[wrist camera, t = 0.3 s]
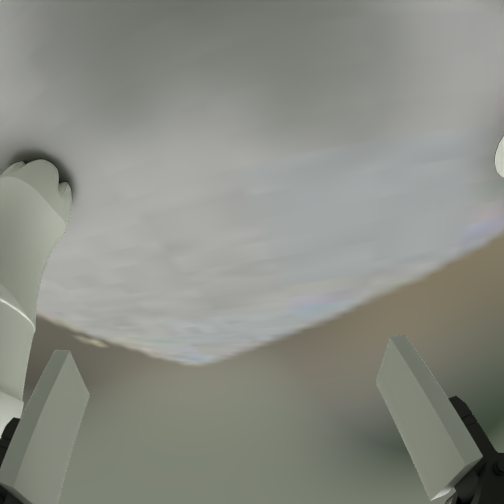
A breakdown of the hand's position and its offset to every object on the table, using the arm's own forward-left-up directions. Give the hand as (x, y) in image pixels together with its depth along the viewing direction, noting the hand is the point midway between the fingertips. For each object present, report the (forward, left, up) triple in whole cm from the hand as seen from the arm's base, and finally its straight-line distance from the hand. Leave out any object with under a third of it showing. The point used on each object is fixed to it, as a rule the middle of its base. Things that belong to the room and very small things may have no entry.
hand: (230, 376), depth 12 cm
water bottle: (+2, -15, -15) cm, 22 cm away
